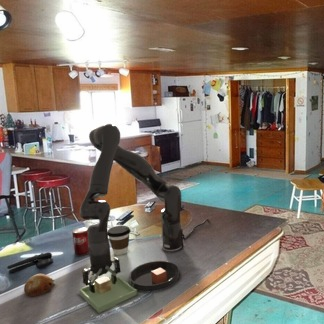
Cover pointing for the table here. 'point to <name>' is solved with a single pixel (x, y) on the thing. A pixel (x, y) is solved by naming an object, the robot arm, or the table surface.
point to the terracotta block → (158, 276)
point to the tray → (108, 295)
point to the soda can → (81, 241)
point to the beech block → (102, 284)
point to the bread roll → (38, 285)
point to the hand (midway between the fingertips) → (103, 287)
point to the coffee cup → (119, 239)
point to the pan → (143, 278)
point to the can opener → (32, 262)
